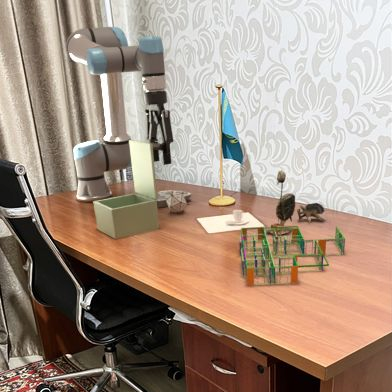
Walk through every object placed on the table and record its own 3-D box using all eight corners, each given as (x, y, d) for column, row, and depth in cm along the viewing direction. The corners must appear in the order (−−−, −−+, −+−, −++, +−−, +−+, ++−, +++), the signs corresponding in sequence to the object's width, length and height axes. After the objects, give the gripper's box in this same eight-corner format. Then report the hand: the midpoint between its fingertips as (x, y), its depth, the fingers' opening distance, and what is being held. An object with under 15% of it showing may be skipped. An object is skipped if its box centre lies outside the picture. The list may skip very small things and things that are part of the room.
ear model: (227, 227, 179) (227, 215, 177) (221, 221, 185) (221, 209, 183) (251, 224, 180) (251, 212, 178) (245, 218, 187) (245, 207, 185)
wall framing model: (238, 243, 163) (238, 228, 160) (333, 238, 161) (334, 222, 159) (244, 286, 132) (243, 268, 130) (360, 280, 131) (362, 262, 128)
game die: (177, 223, 200) (166, 207, 191) (167, 211, 205) (156, 195, 196) (195, 210, 199) (185, 192, 191) (186, 198, 204) (175, 180, 196)
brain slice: (176, 195, 226) (176, 188, 225) (196, 201, 213) (196, 194, 212) (136, 203, 218) (135, 196, 216) (154, 210, 205) (153, 203, 203)
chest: (115, 239, 175) (111, 209, 170) (97, 229, 187) (93, 201, 182) (159, 228, 182) (156, 200, 177) (139, 219, 194) (136, 193, 189)
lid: (149, 144, 168) (170, 141, 172) (128, 140, 180) (148, 137, 184) (155, 199, 177) (174, 195, 180) (134, 191, 189) (153, 188, 192)
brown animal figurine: (298, 222, 175) (325, 216, 172) (295, 201, 175) (322, 196, 173) (300, 228, 182) (326, 223, 180) (297, 208, 183) (323, 203, 180)
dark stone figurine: (302, 230, 170) (304, 167, 160) (274, 237, 165) (275, 173, 155) (286, 225, 176) (288, 164, 166) (259, 232, 172) (259, 169, 162)
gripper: (131, 91, 177) (138, 160, 188) (159, 92, 161) (166, 167, 172) (150, 89, 180) (157, 158, 191) (180, 90, 164) (185, 164, 175)
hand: (161, 162), depth 182 cm, fingers closed on lid, 8 cm apart
